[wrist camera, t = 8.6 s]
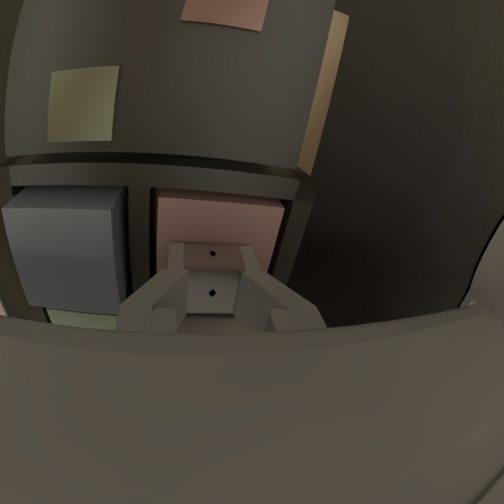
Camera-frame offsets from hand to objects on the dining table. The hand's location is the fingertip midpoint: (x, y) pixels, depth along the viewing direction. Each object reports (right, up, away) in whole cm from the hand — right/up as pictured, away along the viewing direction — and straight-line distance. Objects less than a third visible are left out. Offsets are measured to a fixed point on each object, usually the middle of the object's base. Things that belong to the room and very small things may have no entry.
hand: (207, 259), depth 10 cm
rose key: (0, +1, +2) cm, 2 cm away
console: (-3, +2, +2) cm, 4 cm away
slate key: (-5, +1, -1) cm, 5 cm away
